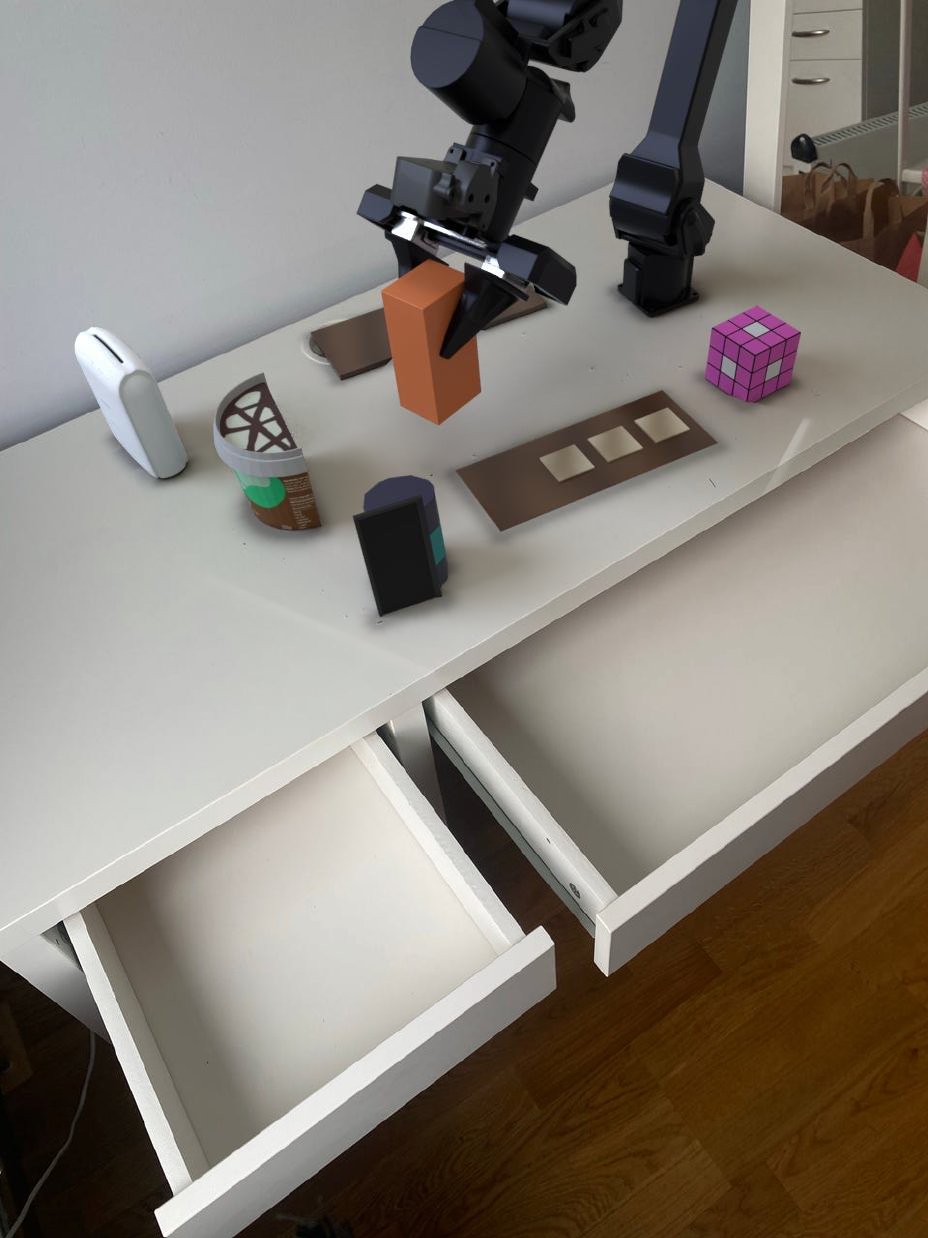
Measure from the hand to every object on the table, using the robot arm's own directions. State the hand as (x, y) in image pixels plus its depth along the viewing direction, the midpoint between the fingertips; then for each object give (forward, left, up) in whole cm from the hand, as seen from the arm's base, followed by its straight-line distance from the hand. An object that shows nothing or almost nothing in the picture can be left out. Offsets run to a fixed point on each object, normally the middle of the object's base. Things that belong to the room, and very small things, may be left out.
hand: (421, 347), depth 75 cm
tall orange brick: (-1, -1, -6) cm, 6 cm away
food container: (+15, -4, -14) cm, 20 cm away
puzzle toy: (-31, +3, -14) cm, 34 cm away
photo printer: (+23, -18, -14) cm, 32 cm away
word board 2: (-12, +5, -13) cm, 19 cm away
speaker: (+8, +10, -14) cm, 19 cm away
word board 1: (-9, -23, -13) cm, 28 cm away
